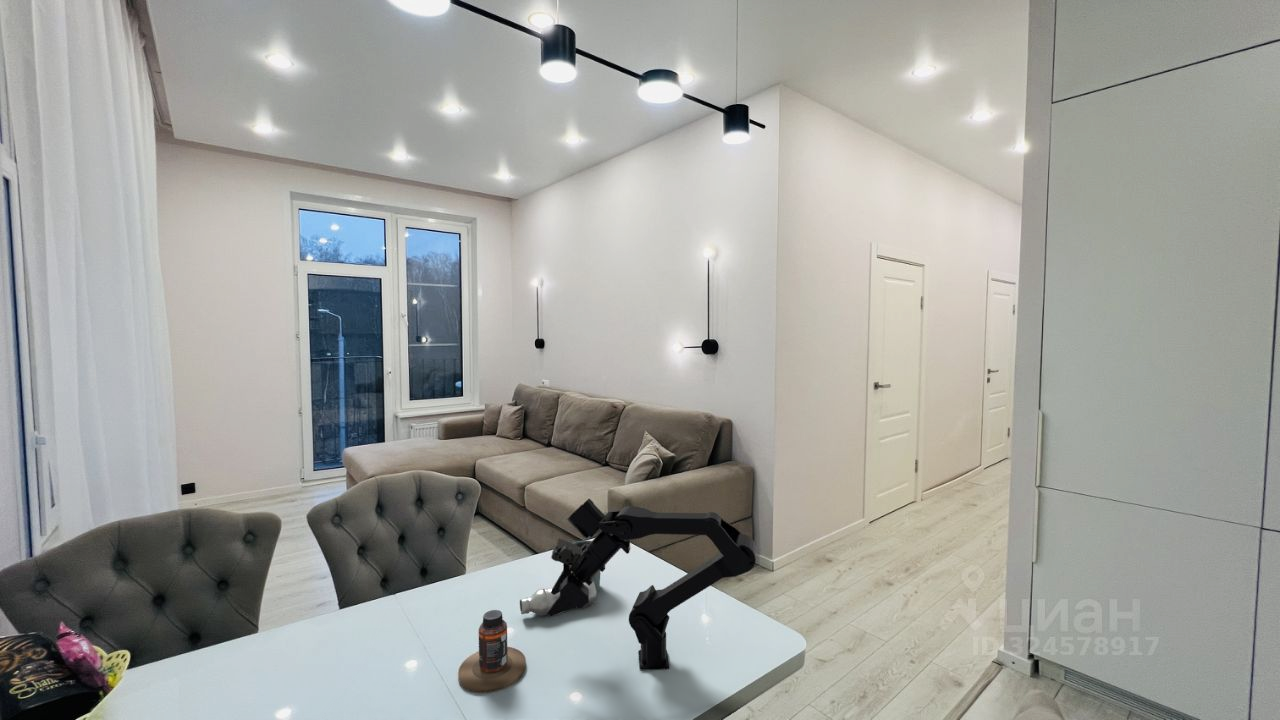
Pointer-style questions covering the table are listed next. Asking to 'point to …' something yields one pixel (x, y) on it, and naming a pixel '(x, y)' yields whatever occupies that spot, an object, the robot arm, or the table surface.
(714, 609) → the table surface
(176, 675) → the table surface
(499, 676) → the disc
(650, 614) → the robot arm
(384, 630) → the table surface
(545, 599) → the plastic bottle
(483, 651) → the supplement bottle
